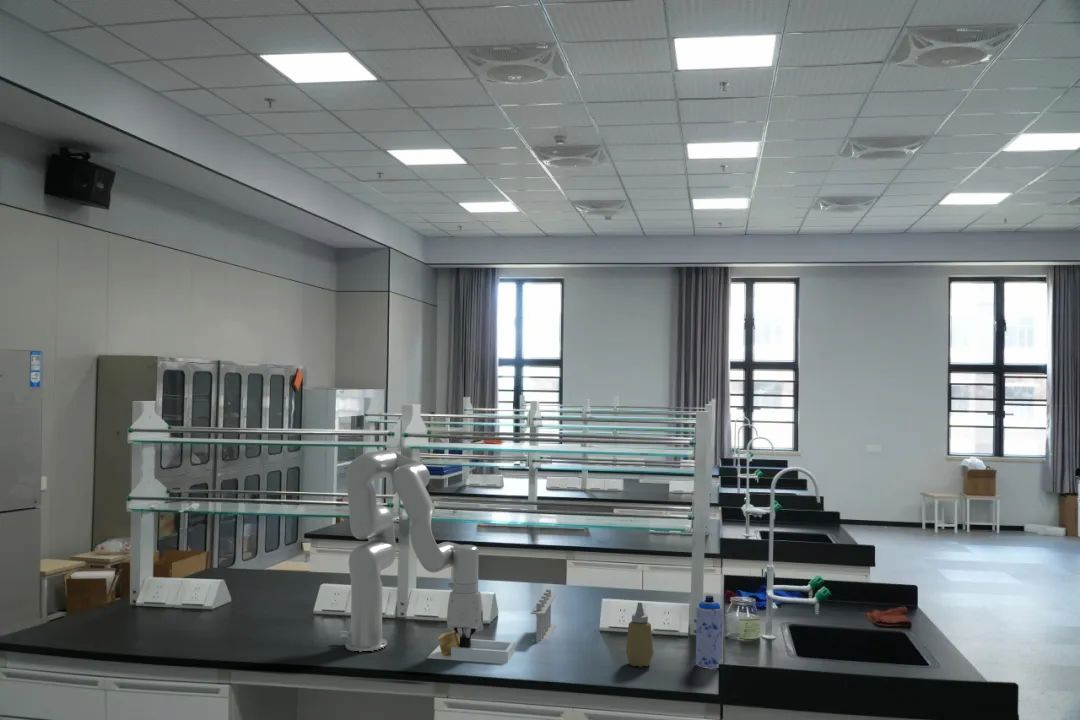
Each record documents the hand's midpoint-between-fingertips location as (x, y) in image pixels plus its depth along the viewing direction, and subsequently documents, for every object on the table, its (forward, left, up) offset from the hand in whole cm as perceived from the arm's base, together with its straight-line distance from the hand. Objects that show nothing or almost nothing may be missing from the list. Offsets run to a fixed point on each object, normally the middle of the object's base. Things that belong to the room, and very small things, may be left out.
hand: (465, 649), depth 260 cm
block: (-4, 0, 0) cm, 4 cm away
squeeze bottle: (+51, +6, -3) cm, 52 cm away
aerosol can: (+71, +10, -3) cm, 72 cm away
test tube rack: (+19, +27, -3) cm, 33 cm away
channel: (+2, 0, -3) cm, 3 cm away
